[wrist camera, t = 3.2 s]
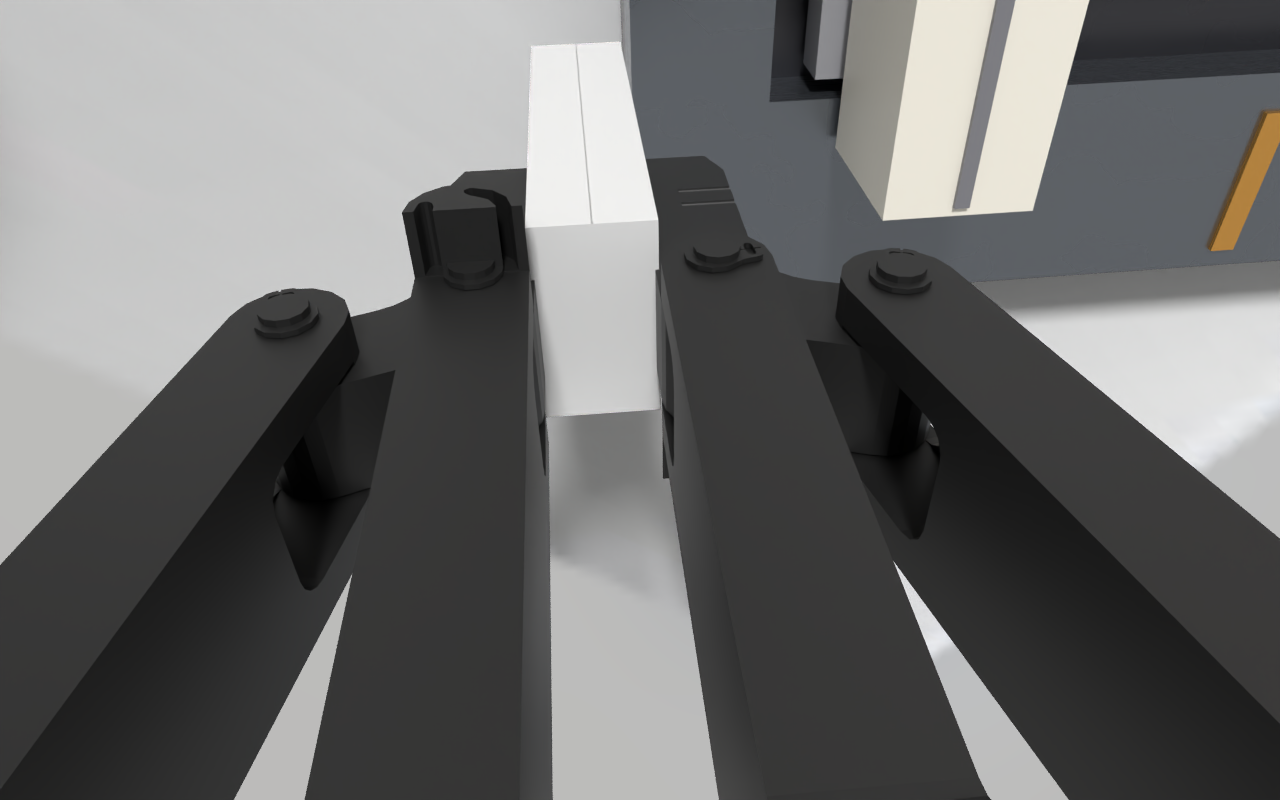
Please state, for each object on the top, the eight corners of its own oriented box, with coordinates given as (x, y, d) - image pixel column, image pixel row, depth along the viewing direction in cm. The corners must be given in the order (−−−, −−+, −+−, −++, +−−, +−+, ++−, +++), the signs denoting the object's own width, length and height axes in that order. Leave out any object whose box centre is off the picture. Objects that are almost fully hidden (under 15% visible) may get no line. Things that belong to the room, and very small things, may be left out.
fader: (798, 122, 22) (858, 224, 18) (818, -118, 19) (898, -60, 15) (963, 113, 22) (1059, 211, 18) (1011, -126, 19) (1141, -71, 15)
